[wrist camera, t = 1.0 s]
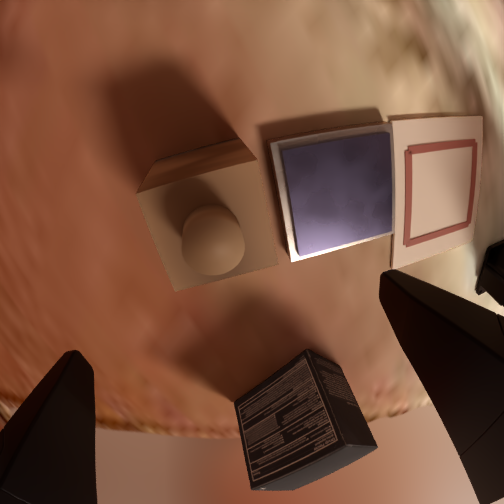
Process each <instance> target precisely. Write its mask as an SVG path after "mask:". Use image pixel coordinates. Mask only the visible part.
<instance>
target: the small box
mask: <svg viewBox="0 0 504 504" xmlns="http://www.w3.org/2000/svg"><path fill="white" fill-rule="evenodd" d="M234 407H235V411H236V415H237V420H238V425H239V430H240V436H241V441H242V445H243V451H244V456H245V462H246V466H247V471H248V476H249V480H250V487H251V490H267V491H270V490H272V491H278V490H280V491H281V490H295V489H297V488H300V487H302V486H304V485H307V484H309V483H311V482H313V481H316V480H318V479H320V478H322V477H324V476H327V475H329V474H331V473H333V472H335V471H337V470H339V469H340V468H343V467H345V466H347V465H349V464H351V463H352V462H354V461H356V460H358V459H360V458H362V457H363V456H365V455H367V454H368V453H370V452H372V451H374V450H375V449H377V448H378V446H377V444H376V441H375V440H374V438H373V435H372V433H371V431H370V429H369V427H368V425H367V422H366V420H365V418H364V416H363V414H362V412H361V410H360V407H359V405H358V403H357V401H356V399H355V396H354V395H353V392H352V390H351V388H350V386H349V384H348V382H347V380H346V378H345V376H344V373H343V371H342V369H341V367H340V366H338V365H336V364H335V363H333V362H331V361H329V360H327V359H325V358H323V357H322V356H320V355H318V354H316V353H314V352H312V351H311V350H308V349H307V350H305V351H304V352H302V353H301V354H300V355H298V356H297V357H296V358H295V359H293V360H292V361H291V362H289V363H288V364H287V365H286V366H284V367H283V368H282V369H280V370H279V371H277V372H276V373H275V374H274V375H272V376H271V377H269V378H268V379H267V380H265V381H264V382H263V383H261V384H260V385H258V386H257V387H256V388H254V389H253V390H251V391H250V392H248V393H247V394H246V395H244V396H243V397H241V398H240V399H238V400H237V401H235V402H234Z"/></svg>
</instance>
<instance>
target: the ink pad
mask: <svg viewBox="0 0 504 504" xmlns="http://www.w3.org/2000/svg"><path fill="white" fill-rule="evenodd" d="M267 145H268V150H269V155H270V160H271V166H272V171H273V176H274V181H275V187H276V192H277V197H278V203H279V208H280V214H281V219H282V225H283V231H284V236H285V242H286V248H287V254H288V256H289V258H290V260H291V262H294V261H298V260H301V259H305V258H309V257H312V256H316V255H319V254H323V253H327V252H330V251H334V250H337V249H341V248H344V247H348V246H352V245H355V244H359V243H362V242H366V241H369V240H373V239H376V238H380V237H383V236H387V235H390V234H393V233H394V230H395V164H394V144H393V129H392V123H388V122H385V121H382V122H373V123H365V124H357V125H349V126H342V127H336V128H329V129H323V130H317V131H311V132H306V133H300V134H295V135H290V136H285V137H280V138H275V139H270V140H267Z"/></svg>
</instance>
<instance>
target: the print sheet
mask: <svg viewBox="0 0 504 504" xmlns="http://www.w3.org/2000/svg"><path fill="white" fill-rule="evenodd" d="M390 123H392V129H393V144H394V164H395V230H394V233H393V237H392V257H391V269H397V268H400V267H403V266H406V265H409V264H412V263H415V262H417V261H420V260H423V259H426V258H429V257H431V256H434V255H437V254H440V253H442V252H445V251H448V250H450V249H453V248H456V247H458V246H461V245H463V244H466V243H469V242H471V241H472V240H473V235H474V229H475V223H476V216H477V209H478V201H479V192H480V182H481V169H482V148H483V116H448V117H428V118H414V119H402V120H391V121H390Z"/></svg>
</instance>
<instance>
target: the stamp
mask: <svg viewBox="0 0 504 504" xmlns="http://www.w3.org/2000/svg"><path fill="white" fill-rule="evenodd" d="M136 196H137V199H138V202H139V204H140V207H141V210H142V212H143V215H144V218H145V220H146V223H147V226H148V228H149V231H150V233H151V236H152V238H153V241H154V243H155V246H156V248H157V251H158V253H159V255H160V258H161V260H162V263H163V265H164V267H165V270H166V272H167V274H168V277H169V279H170V281H171V284H172V286H173V288H174V290H175V291H179V290H183V289H187V288H191V287H195V286H199V285H203V284H207V283H211V282H215V281H218V280H222V279H226V278H230V277H234V276H238V275H241V274H245V273H249V272H253V271H257V270H260V269H264V268H268V267H272V266H275V265H279V264H278V258H277V253H276V248H275V243H274V237H273V232H272V227H271V222H270V217H269V212H268V207H267V202H266V197H265V192H264V187H263V183H262V178H261V173H260V168H259V163H258V160H257V158H256V157H255V156H254V155H253V153H252V152H251V151H250V150H249V149H248V147H247V146H246V145H245V144H244V143H243V141H242V140H241V139H240V138H236V139H232V140H228V141H224V142H220V143H216V144H212V145H208V146H204V147H201V148H197V149H193V150H190V151H186V152H183V153H180V154H176V155H173V156H170V157H166V158H163V159H160V160H157V161H155V163H154V164H153V166H152V168H151V169H150V171H149V172H148V174H147V176H146V177H145V179H144V181H143V182H142V184H141V186H140V187H139V189H138V191H137V193H136Z"/></svg>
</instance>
